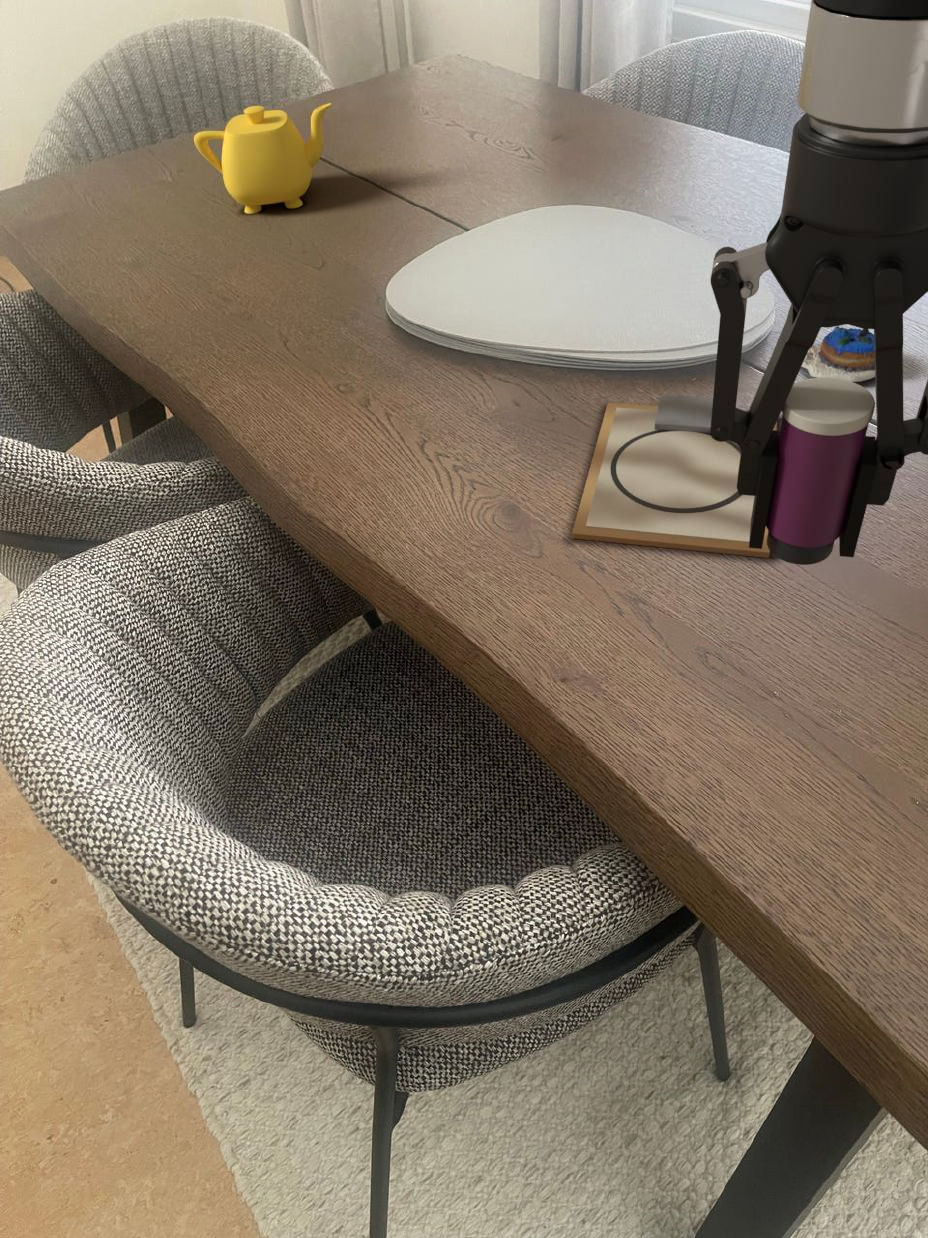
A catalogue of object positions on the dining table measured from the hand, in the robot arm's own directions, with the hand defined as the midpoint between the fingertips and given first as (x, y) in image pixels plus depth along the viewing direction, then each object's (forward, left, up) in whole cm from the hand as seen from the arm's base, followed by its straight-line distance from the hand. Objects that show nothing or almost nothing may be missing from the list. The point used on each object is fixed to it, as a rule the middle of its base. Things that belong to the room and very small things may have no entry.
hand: (800, 537), depth 56 cm
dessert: (+44, -6, -14) cm, 46 cm away
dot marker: (0, 0, -1) cm, 1 cm away
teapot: (+83, +72, -14) cm, 111 cm away
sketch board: (+24, +8, -14) cm, 29 cm away
